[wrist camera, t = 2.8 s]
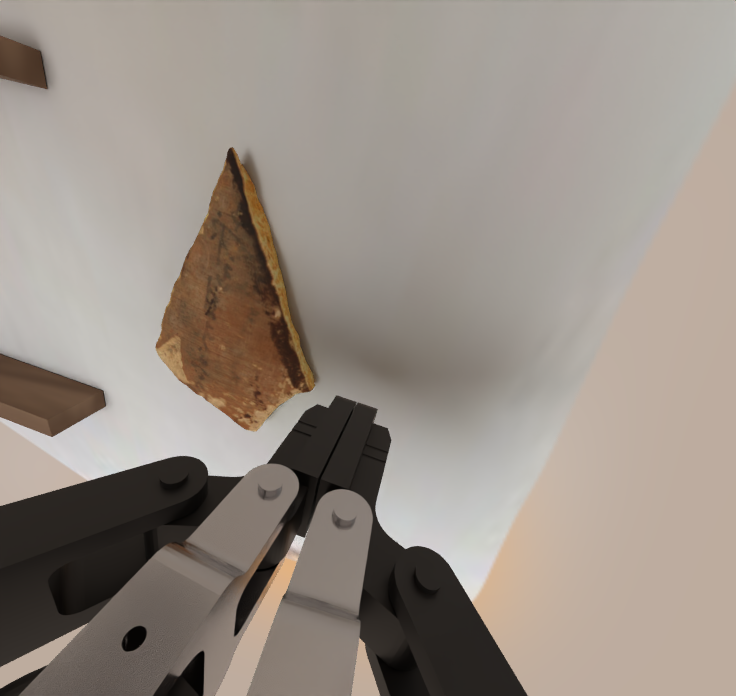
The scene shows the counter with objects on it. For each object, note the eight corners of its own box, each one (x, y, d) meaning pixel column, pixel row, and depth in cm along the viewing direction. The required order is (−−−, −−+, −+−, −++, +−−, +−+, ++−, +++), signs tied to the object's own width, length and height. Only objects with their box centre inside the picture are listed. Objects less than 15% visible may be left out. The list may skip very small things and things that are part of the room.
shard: (252, 152, 12) (223, 143, 11) (402, 274, 13) (396, 283, 11) (169, 342, 17) (140, 356, 16) (282, 426, 18) (265, 447, 16)
